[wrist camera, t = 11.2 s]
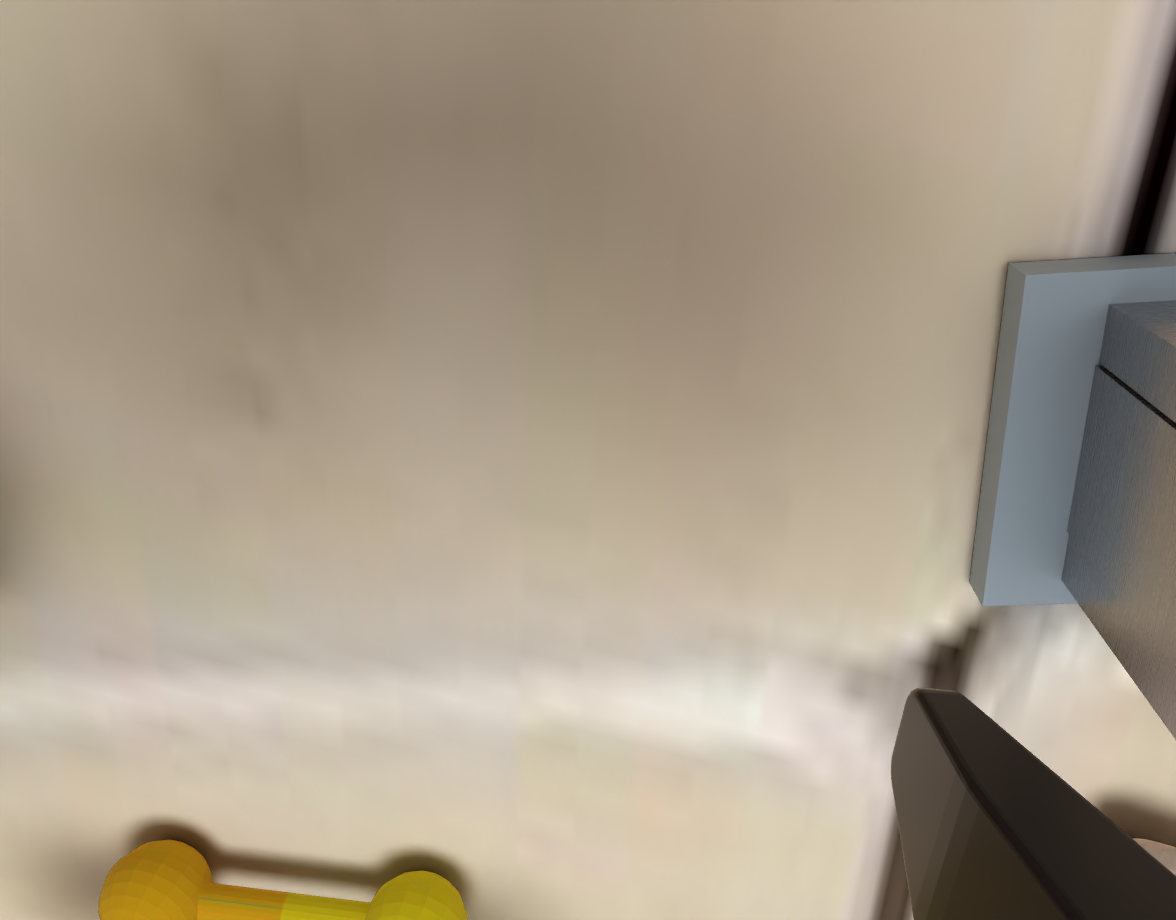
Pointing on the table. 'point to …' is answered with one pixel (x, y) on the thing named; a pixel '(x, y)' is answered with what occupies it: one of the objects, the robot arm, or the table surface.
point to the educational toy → (254, 894)
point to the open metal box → (1131, 500)
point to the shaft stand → (1046, 415)
